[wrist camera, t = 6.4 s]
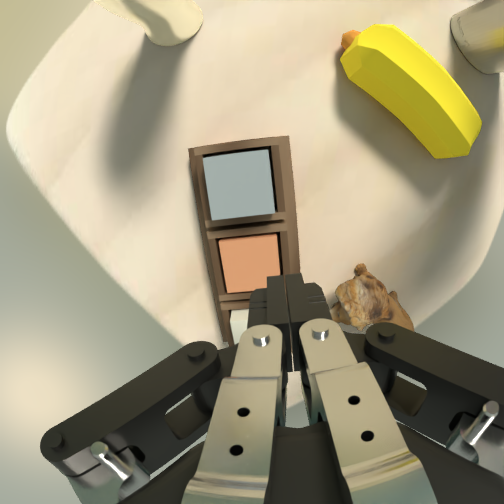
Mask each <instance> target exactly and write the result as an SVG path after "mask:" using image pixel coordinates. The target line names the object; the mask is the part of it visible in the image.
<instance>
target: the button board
mask: <svg viewBox="0 0 504 504" xmlns="http://www.w3.org/2000/svg"><path fill="white" fill-rule="evenodd" d="M258 150H268V152H269V161H270V170H271V179H272V188H273V198H274V207H275V213H273V214H264V215H254V216H245V217H237V218H228V219H220V220H212V217H211V211H210V205H209V198H208V192H207V185H206V178H205V171H204V164H203V158H206V157H213V156H219V155H226V154H234V153H241V152H250V151H258ZM188 151H189V158H190V165H191V171H192V178H193V185H194V191H195V197H196V203H197V209H198V215H199V221H200V227H201V233H202V238H203V244H204V249H205V255H206V260H207V265H208V270H209V275H210V280H211V285H212V290H213V295H214V300H215V305H216V309H217V314H218V319H219V323H220V328H221V332H222V337H223V341H224V342H228V343H229V347H231V346H233V345H235V344H234V339H233V334H232V329H231V324H230V318H231V312H232V309H244V308H249V304H250V303H249V302H250V295H251V294H252V293H253V291H244V292H233V293H227V287H226V282H225V276H224V270H223V265H222V259H221V253H220V247H219V240H220V238H223V237H232V236H241V235H250V234H260V233H269V232H276V235H277V244H278V255H279V266H280V275H283V277H284V285H285V275H286V274H295V273H300V260H299V244H298V229H297V216H296V203H295V192H294V181H293V171H292V161H291V151H290V142H289V136H279V137H268V138H259V139H250V140H241V141H234V142H227V143H220V144H213V145H207V146H201V147H195V148H190V149H188ZM285 292H286V285H285ZM286 300H287V297H286ZM290 340H291V335H290ZM291 352H292V344H291Z"/></svg>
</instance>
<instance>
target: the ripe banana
mask: <svg viewBox="0 0 504 504" xmlns="http://www.w3.org/2000/svg"><path fill="white" fill-rule="evenodd" d="M341 45H342V46H343V48H344V49H345V52H344V53H343V55H342V57H341V58H340V61H341V63H342V65H343V68H344V70H345V72H346V75H347V77H348V79H349V80H351V81H352V82H354V83H355V84H356V85H358V86H359V87H360V88H362V89H363V90H364V91H366V92H367V93H368V94H370V95H371V96H372V97H373V98H375V99H376V100H377V101H378V102H380V103H381V104H382V105H383V106H384V107H386V108H387V109H388V110H389V111H390V112H391V113H393V114H394V115H395V116H396V117H397V118H398V119H399V120H400V121H401V122H402V123H403V124H404V125H405V126H406V127H407V128H408V129H409V130H410V131H411V132H412V133H413V134H414V135H415V136H416V138H417V139H418V140H419V141H420V142H421V143H422V144H423V145H424V146H425V148H426V149H427V150H428V151H429V152H430V153H431V155H432V156H433V157H434V158H435V159H440V158H451V157H459V156H466V155H468V154H469V152H470V149H471V146H472V144H473V143H474V141H475V139H476V138H477V136H478V135H479V133H480V130H481V126H482V121H481V119H480V116H479V114H478V112H477V111H476V109H475V108H474V106H473V105H472V103H471V102H470V100H469V99H468V98H467V96H466V95H465V94H464V92H463V91H462V90H461V88H460V87H459V86H458V84H457V83H456V82H455V81H454V79H453V78H452V77H451V76H450V75H449V73H448V72H447V71H446V70H445V69H444V67H443V66H441V65H440V64H439V63H438V62H437V61H436V60H435V59H434V58H433V57H432V56H431V55H430V54H429V53H428V52H426V51H425V50H424V49H423V48H422V47H421V46H420V45H418V44H417V43H416V42H415V41H414V40H412V39H411V38H410V37H409V36H407V35H406V34H405V33H404V32H402V31H401V30H400V29H398V28H397V27H396V26H394V25H384V24H374V25H372V26H370V27H369V28H367V29H366V30H364V31H362V32H358V31H355V30H352V31H349V32H347V33H345V34H343V36H342V42H341Z"/></svg>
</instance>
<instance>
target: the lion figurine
mask: <svg viewBox="0 0 504 504" xmlns="http://www.w3.org/2000/svg"><path fill="white" fill-rule="evenodd" d="M355 270H356V272H357V273H358V275H359V276H354V278H353V279H352V280H349V281H347V282H345V283H342V284H340V286H338V287H337V289H336V291H335V294H336V297H337V298H338V302H337V303H335V304H333V305H332V306H331V309H330V310H329V311H330V313H331V316H332V319H333V321H334V322H336V323H340V322H342V323H344V324H346V325H350V324H351V325H352V326H354V327H356V328H357V330H360V331H362V330H363V327H365V326H366V325H369V324H372V323H373V324H376V323H380V322H390V323H394V324H397V325H399V326H402V327H404V328H406V329H409V330H411V331H414V327H413V323H412V321H411V319H410V317H409V316H408V314H407V313H406V311H405V310H404V309H403V308H402V307H401V305H400V304H399V302H398V299H397V293H396V292H395V291H392V292H391V293H390V294H389V295H388V294H387V291H386V288H385V286H384V285H383V284H382V283H381V282H380V281H379V280H377V279H376V278H375V277H374V276H373V275H372V274H370V273H369V272H368V271H367V269H366V266H365V265H364V264H358V265H357V267H356V268H355Z"/></svg>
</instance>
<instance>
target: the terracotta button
mask: <svg viewBox="0 0 504 504" xmlns="http://www.w3.org/2000/svg"><path fill="white" fill-rule="evenodd" d="M219 247H220V253H221V259H222V265H223V270H224V276H225V282H226V287H227V293H233V292H244V291H254V290H255V289H259V288H267V277H268V276H277V275H280V266H279V255H278V244H277V235H276V232H269V233H260V234H250V235H241V236H232V237H223V238H220V240H219Z"/></svg>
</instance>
